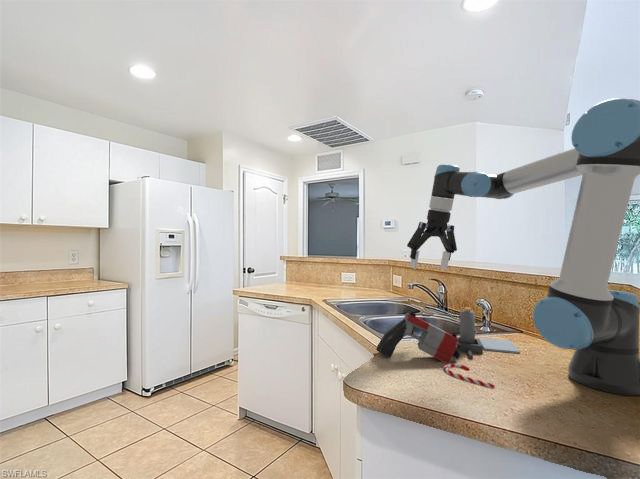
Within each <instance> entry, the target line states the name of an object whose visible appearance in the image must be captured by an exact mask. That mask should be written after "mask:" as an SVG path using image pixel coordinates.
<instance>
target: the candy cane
mask: <svg viewBox="0 0 640 479" xmlns="http://www.w3.org/2000/svg"><path fill="white" fill-rule="evenodd" d="M453 368H459V369H462V370H464V371H471V368H470V367H468V366H466V365H464V364H461V363H448V364H447V363H446V364H445V365H444V366H443V368H442V369H443V371H444V373H446V374H447V375H450V376H452V377H454V378H456V379H459V380H463V381H465V382H468V383H471V384H476V385H477V386H478V385H479V386H483V387H486V388H490V389H495V388H496V385H495V383H490V382H486V381H483V380H479V379H477V378H473V377H469V376H466V375H463V374H459V373H457V372H454V371H452V370H451V369H453Z"/></svg>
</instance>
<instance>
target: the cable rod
mask: <svg viewBox="0 0 640 479" xmlns="http://www.w3.org/2000/svg"><path fill="white" fill-rule="evenodd" d="M475 323H476V312H475V311H473V310H471V307H464V308H463V310H459V337H460V343H465V344H475V339H476V337H475V336H476V324H475Z"/></svg>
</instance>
